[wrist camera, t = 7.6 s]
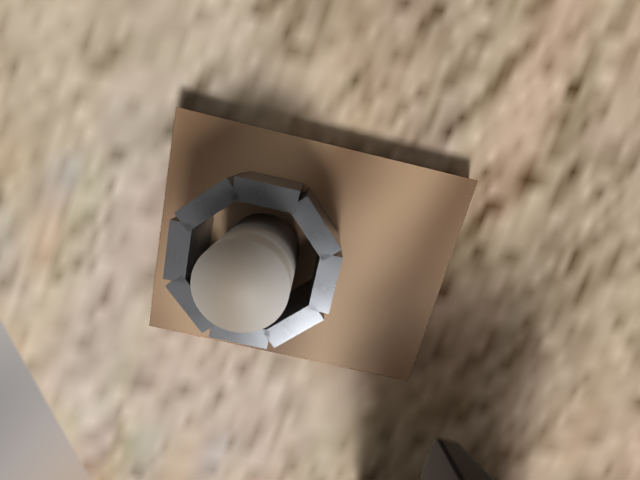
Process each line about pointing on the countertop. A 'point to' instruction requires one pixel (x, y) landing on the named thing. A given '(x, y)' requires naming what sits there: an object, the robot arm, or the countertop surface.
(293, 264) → the tan board with peg
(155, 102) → the countertop surface
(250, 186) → the hollow octagonal tube
